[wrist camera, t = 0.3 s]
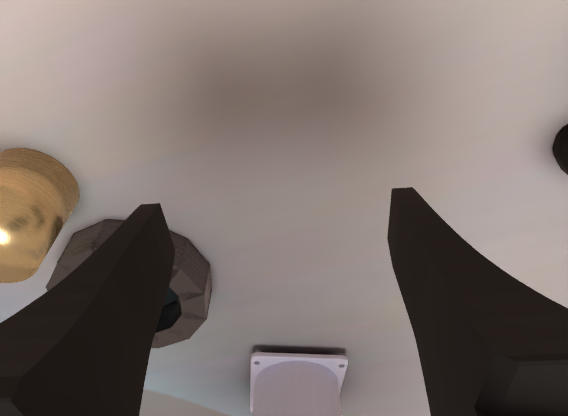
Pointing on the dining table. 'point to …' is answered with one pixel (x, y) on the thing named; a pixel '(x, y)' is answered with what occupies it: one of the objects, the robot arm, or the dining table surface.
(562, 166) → the film camera
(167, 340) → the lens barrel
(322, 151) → the dining table surface
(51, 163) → the gold metal cylinder
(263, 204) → the dining table surface
